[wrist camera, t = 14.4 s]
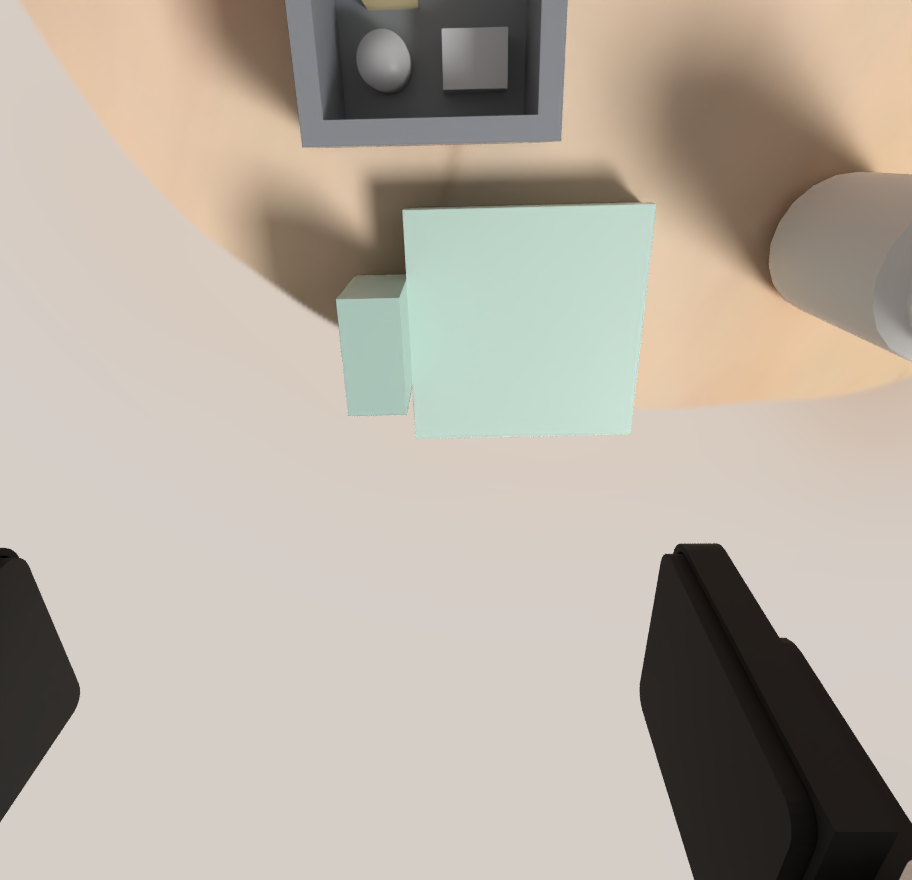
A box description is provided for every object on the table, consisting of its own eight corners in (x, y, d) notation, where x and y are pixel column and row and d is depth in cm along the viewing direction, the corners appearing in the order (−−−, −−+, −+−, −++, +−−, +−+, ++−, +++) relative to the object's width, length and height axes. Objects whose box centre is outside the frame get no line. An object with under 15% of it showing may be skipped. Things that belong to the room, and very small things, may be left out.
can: (897, 288, 35) (1092, 349, 25) (766, 325, 36) (898, 400, 26) (899, 151, 32) (1122, 153, 21) (755, 196, 33) (900, 219, 22)
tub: (305, -123, 27) (260, -205, 21) (549, -130, 27) (577, -214, 21) (332, 147, 32) (302, 147, 26) (540, 142, 32) (560, 140, 26)
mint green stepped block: (351, 207, 33) (327, 220, 27) (642, 200, 33) (686, 212, 27) (371, 422, 39) (355, 475, 33) (620, 417, 39) (652, 469, 33)
